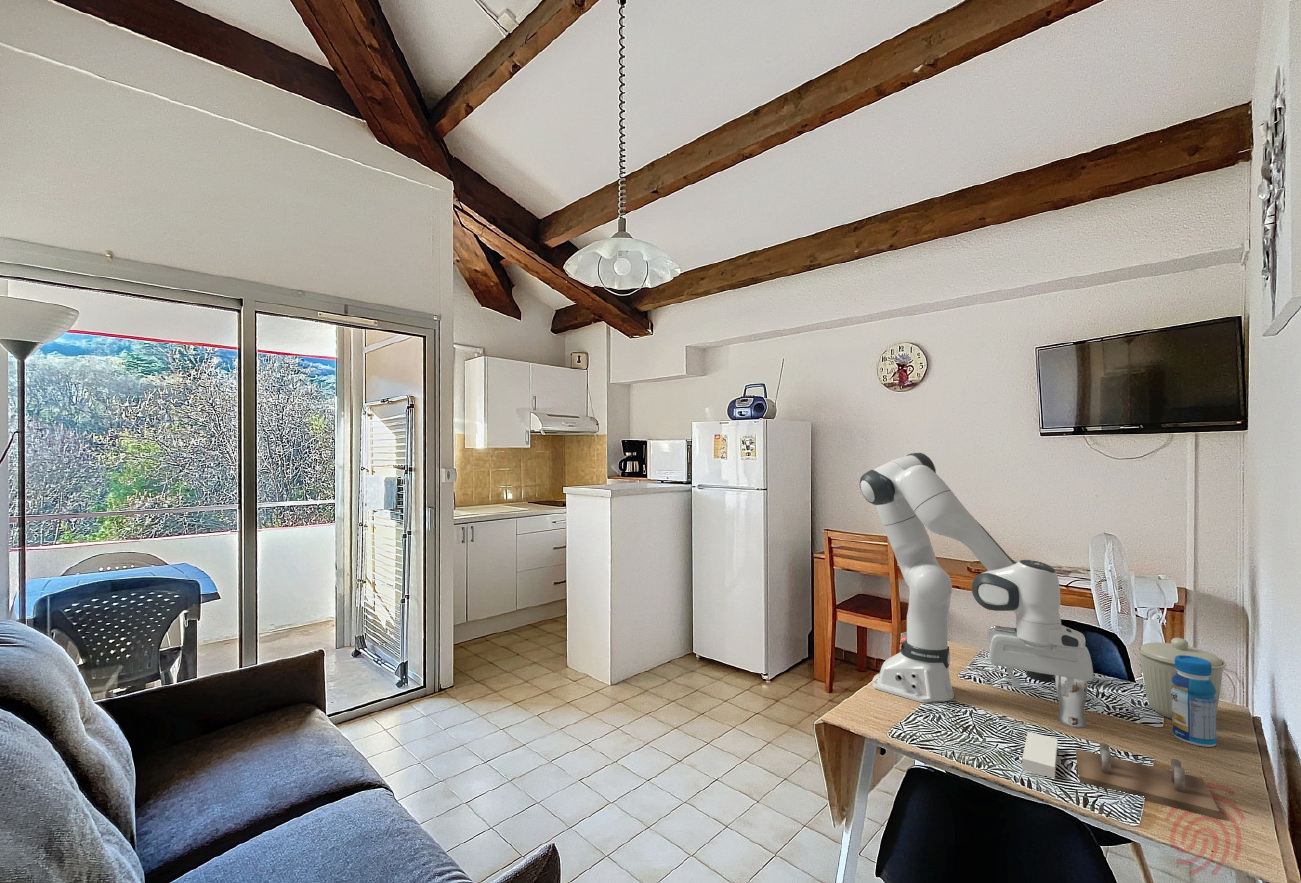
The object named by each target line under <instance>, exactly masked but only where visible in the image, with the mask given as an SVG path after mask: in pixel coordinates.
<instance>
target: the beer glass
mask: <svg viewBox="0 0 1301 883" xmlns="http://www.w3.org/2000/svg"><path fill="white" fill-rule="evenodd" d="M1054 677H1055V679H1054V680H1055V689H1056V692H1057V694H1056V695H1057V699H1058V704H1059V706H1058V708H1059V710H1058V716H1057V720H1058V722H1059V723H1060V724H1062V725H1063V726H1064V725H1065V726H1067V727H1070V728H1077V729H1082V728H1083V729H1084V728H1086V727H1087V722H1086V717H1085V707H1086V706H1085V705H1086V701H1087V695H1088V688H1089V687H1088V686H1089V683H1088V682H1089V681H1085V680H1079V679H1074V684H1073V686H1072V687H1071V688H1070V689H1069V690H1068V691H1069V697H1066V696H1061V686H1065V685H1066V684H1067V683H1068V682H1067V679H1066V677H1061V676H1056V675H1054Z"/></svg>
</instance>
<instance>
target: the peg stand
mask: <svg viewBox="0 0 1301 883" xmlns="http://www.w3.org/2000/svg"><path fill="white" fill-rule="evenodd" d="M1099 751H1100V752H1099V753H1096V752H1091V751H1087V750H1083V749H1080V748H1079V749H1078V748H1076V749H1075V757H1076V758H1077V759H1076V765H1078V766H1077V772H1078V781H1080V782H1079V784H1082V783H1086V784H1091V785H1094V786H1098V787H1102V788H1104V789H1103V790H1105V789H1112V790H1116V791H1121V792H1125V793H1129V794H1133V795H1138V796H1144V798H1145V799H1146V800H1145V801H1148V802H1151V803H1156V804H1160V805H1164V806H1168V807H1171V808H1174V809H1175V808H1176V809H1179V810H1181V811H1182V810H1183V811H1187V812H1191V813H1194V814H1198V815H1202V816H1205V817H1206V816H1207V817H1210V818H1214V819H1217V820H1220V819H1221V818H1220V817H1221V816H1220V815H1221V814H1220V810H1219V807H1218V806H1217V804H1216V802H1215V800H1214V798H1213V796H1212V793H1211V792H1210V790H1209V788H1208V786H1207V784H1206V783H1205V780H1204V778H1203V777H1200V776H1199V777H1198V776H1194V775H1189V774H1186V771H1185V768H1183V767H1182V761H1180V760H1179V759H1177V758H1170V770H1169V769H1165V768H1161V767H1157V766H1151V765H1146V764H1143V763H1139V762H1133V761H1130V760H1126V759H1122V758H1118V757H1113V756H1112V752H1111V751H1110V745H1109V744H1107V743H1105V742H1101V743H1099Z"/></svg>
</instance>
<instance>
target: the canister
mask: <svg viewBox="0 0 1301 883" xmlns="http://www.w3.org/2000/svg"><path fill="white" fill-rule="evenodd" d="M1136 651H1137V652H1138V653H1139V656H1140V663H1141V670H1142V676H1143V683H1144V689H1145V695H1146V700H1147V702H1148V704H1149V707H1150V708H1151V709H1152V710H1153V711H1154V710H1155V711H1154V712H1155V713H1157V712H1158V713H1157V714H1159V715H1161V716H1163V717H1166V718H1168V719H1170V720H1172V697H1171V690H1172V688H1173V685H1172V684H1171V681H1172V678H1173V677H1174V675H1175V674H1176V673H1177V672H1178V671H1177V670H1176V668H1175V657H1176V656H1178V655H1186V656H1193V657H1198V658H1202V659H1205V660H1207V661H1209V662H1210V663H1211V665H1212V674H1211V676H1210V677H1208V678H1209V679H1210V680H1211V682H1212V683H1213V685H1214V687H1215V689H1216V693H1215V695H1214V696H1215V698H1216V700H1217V706H1216V714H1217V713H1218V711H1217V710H1218V708H1219V702H1220V700H1219V699H1220V694H1221V686H1222V678H1223V671H1224V669H1225V668H1226V667H1227V662H1226V660H1224V659H1222V658H1220V657H1219V656H1217V655H1215V654H1214V653H1212V652H1209V651H1207V650H1203V649H1201V648H1198V647H1193V646H1189V642H1188V641H1187V640H1186V639H1184V638H1181V637H1174V638H1172V639H1171V640H1170V642H1157V641H1156V642H1148V643H1144V644H1141V645H1139V646H1137V647H1136Z"/></svg>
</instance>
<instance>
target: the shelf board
mask: <svg viewBox="0 0 1301 883" xmlns="http://www.w3.org/2000/svg"><path fill="white" fill-rule="evenodd" d="M1058 742H1059V740H1058V738H1056V737H1052V736H1048V735H1044V734H1039V733H1036V732H1031V731H1027V733H1026V739H1025V744H1024V748H1023V749H1024V750H1023V753H1022V758H1021V762H1022V764H1021V769H1022V771H1025V772H1028V773H1032V774H1034V775H1038V776H1042V777H1045V776H1047V777H1046V778H1049V777H1051V778H1050V779H1052V778H1054V779H1053V780H1055V779H1056V772H1057V770H1056V769H1057V760H1058V751H1057V750H1059V749H1058V748H1059V747H1058V744H1059V743H1058Z"/></svg>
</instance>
